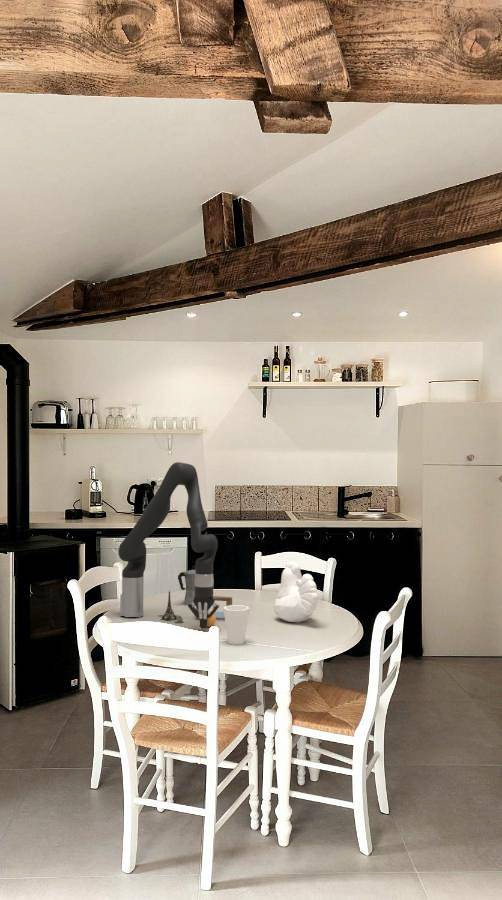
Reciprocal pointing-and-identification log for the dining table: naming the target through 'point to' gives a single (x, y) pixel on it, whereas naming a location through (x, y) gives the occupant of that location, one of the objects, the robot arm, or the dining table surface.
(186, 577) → the coffeepot
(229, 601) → the bridge
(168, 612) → the eiffel tower figurine
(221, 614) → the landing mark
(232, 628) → the foam cup
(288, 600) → the decorative rooster
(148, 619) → the dining table surface
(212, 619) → the ball
